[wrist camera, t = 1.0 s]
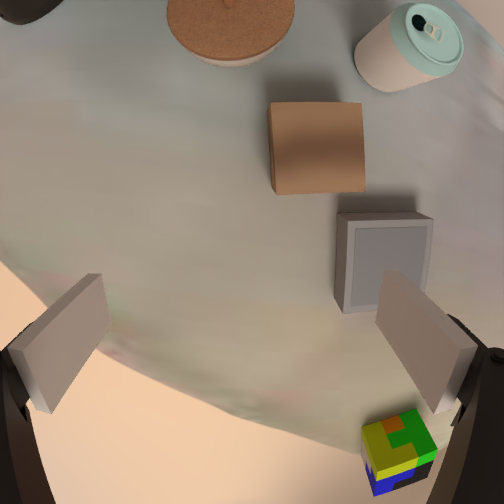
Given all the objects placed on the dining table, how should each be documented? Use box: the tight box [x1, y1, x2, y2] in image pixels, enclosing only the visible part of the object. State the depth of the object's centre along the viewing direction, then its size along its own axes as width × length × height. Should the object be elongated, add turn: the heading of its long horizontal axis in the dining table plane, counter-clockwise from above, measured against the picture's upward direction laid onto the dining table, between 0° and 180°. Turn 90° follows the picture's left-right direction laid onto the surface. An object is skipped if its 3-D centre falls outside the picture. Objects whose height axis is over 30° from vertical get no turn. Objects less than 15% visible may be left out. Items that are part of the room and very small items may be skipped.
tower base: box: [334, 212, 434, 314], centre depth 33 cm, size 10×10×4 cm
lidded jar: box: [167, 0, 295, 68], centre depth 23 cm, size 11×11×9 cm
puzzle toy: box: [361, 409, 438, 496], centre depth 40 cm, size 10×10×10 cm
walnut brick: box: [267, 102, 365, 195], centre depth 28 cm, size 8×8×6 cm
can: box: [354, 3, 464, 92], centre depth 22 cm, size 7×7×12 cm
